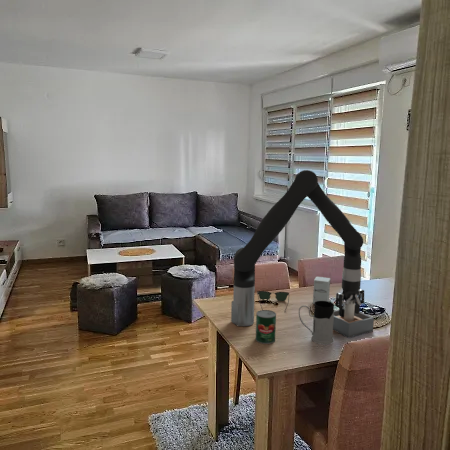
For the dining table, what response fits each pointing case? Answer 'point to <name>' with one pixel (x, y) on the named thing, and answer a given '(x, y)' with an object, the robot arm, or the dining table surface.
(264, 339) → the canned tomato
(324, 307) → the mug
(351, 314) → the peg
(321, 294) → the supplement box
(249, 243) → the robot arm
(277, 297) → the sunglasses
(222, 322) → the dining table surface
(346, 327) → the walled box
